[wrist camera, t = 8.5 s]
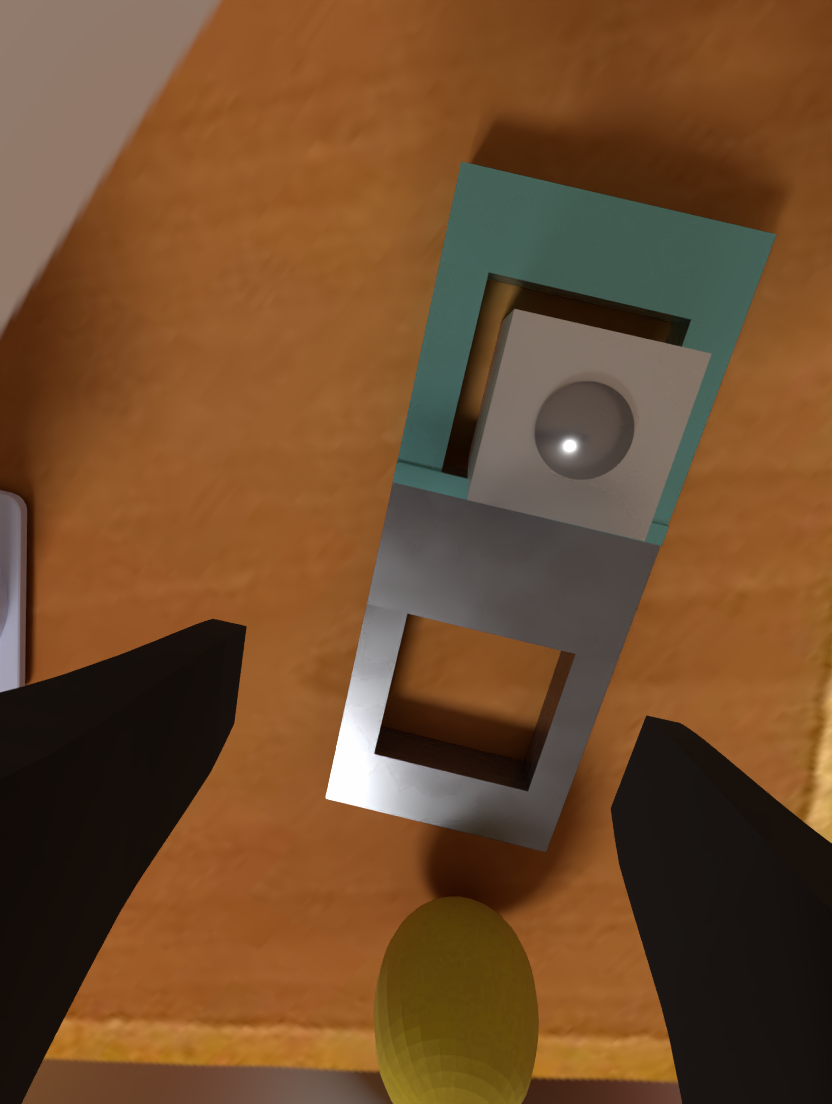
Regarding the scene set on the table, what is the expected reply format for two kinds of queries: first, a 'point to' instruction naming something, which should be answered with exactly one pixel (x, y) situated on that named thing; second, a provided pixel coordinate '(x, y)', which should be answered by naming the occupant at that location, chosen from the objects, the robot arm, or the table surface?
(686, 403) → the domed white cube
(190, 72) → the table surface
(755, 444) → the table surface
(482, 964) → the lemon
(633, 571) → the teal silver rectangular frame
